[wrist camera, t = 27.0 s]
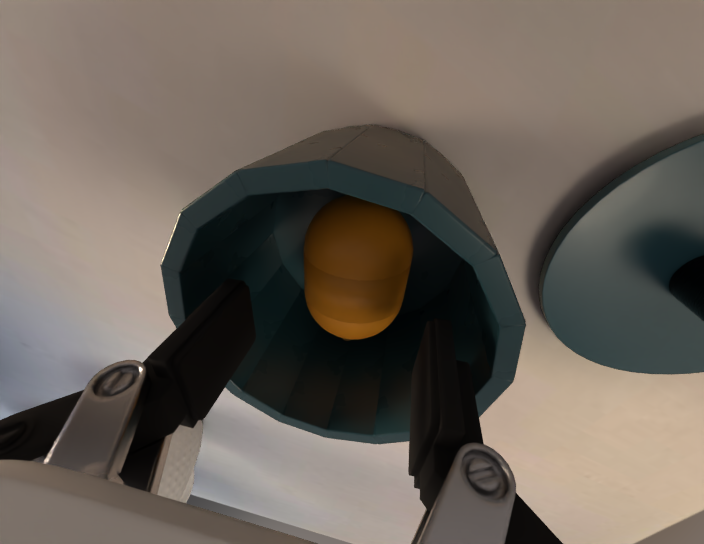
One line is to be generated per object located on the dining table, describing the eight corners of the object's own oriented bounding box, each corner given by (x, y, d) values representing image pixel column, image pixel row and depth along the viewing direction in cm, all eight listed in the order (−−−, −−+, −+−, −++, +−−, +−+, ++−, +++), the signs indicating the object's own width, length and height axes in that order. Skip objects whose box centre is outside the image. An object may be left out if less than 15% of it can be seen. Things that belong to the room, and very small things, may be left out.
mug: (244, 460, 38) (174, 609, 27) (176, 449, 41) (87, 581, 30) (195, 386, 30) (70, 552, 20) (115, 379, 33) (-33, 521, 22)
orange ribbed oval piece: (322, 174, 15) (282, 208, 11) (423, 187, 14) (424, 230, 10) (320, 291, 19) (291, 350, 15) (398, 306, 19) (391, 372, 14)
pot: (341, 62, 13) (244, 32, 6) (528, 233, 15) (621, 360, 8) (237, 246, 19) (133, 336, 12) (378, 346, 22) (358, 469, 15)
